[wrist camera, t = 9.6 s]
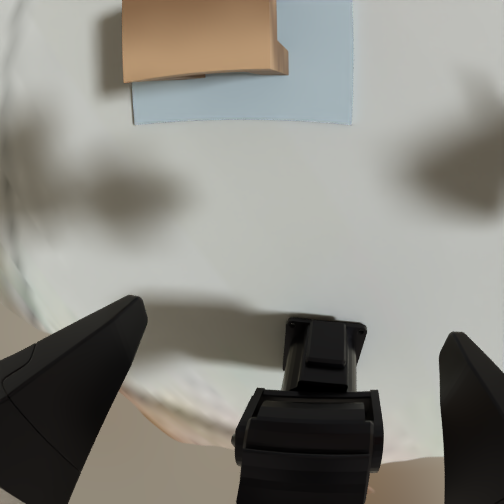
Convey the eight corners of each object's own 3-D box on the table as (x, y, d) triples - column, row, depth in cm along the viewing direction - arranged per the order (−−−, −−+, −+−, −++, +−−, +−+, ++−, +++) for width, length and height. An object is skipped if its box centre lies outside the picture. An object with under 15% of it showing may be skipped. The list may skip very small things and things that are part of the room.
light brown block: (288, 75, 16) (270, 68, 10) (183, 80, 17) (123, 82, 12) (286, -23, 13) (266, -69, 7) (181, -11, 14) (124, -39, 8)
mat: (350, 124, 17) (351, 125, 17) (137, 124, 20) (134, 124, 19) (347, -53, 11) (348, -55, 11) (134, -29, 14) (131, -31, 13)
